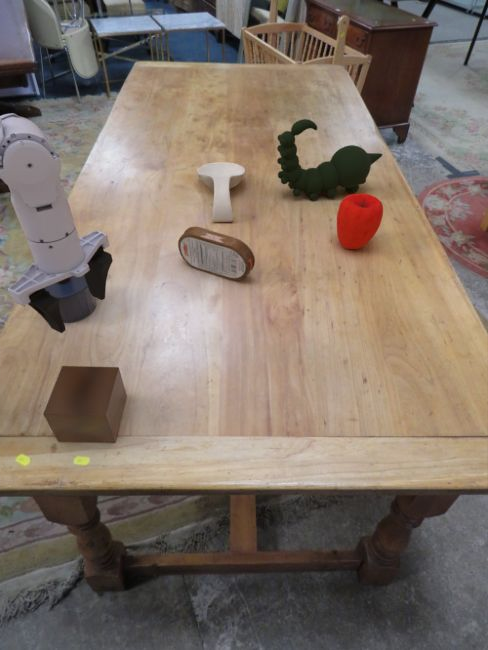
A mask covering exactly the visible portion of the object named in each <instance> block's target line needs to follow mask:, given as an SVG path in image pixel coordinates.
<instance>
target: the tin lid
mask: <svg viewBox="0 0 488 650" xmlns="http://www.w3.org/2000/svg"><path fill="white" fill-rule="evenodd" d="M87 288H88V286H87V283H86V279H85V277H84V275H83V276H81V277H75V276H71V277H69V278H66V279H64V280H61V281H59V282H57V283H54V284H52V285H49V286H47V287H45V290H46V291H49V293H50V295H52V296H54V297H56V298H58V299H60V300H61V299H67V298H71V297H74V296H76V295H78V294H80V293H82V292H83V291H85V290H86V289H87Z"/></svg>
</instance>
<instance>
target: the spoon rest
mask: <svg viewBox="0 0 488 650" xmlns="http://www.w3.org/2000/svg"><path fill="white" fill-rule="evenodd" d="M196 174H197V176H198V178H199V179H200V180H201V182H202V183H203V184H205V186H207V187H209V188H210V189H211V190H212V191H213V203H212V210H211V211H212V212H211V222H213V223H231V222H233V221H234V212H233V207H232V202H231V194H230V190H232V189H233V188H235V187H237V186H238V185H239V184H240V183H241V182H242V181H243V179H244V177H245V175H246V168H244V166H242V165H241V164H238V163H235V162H229V161H215V162H208V163H204V164H201V166H199V167H198V168H197V170H196ZM231 188H232V189H231ZM229 189H230V190H229Z"/></svg>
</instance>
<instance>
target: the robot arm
mask: <svg viewBox="0 0 488 650" xmlns="http://www.w3.org/2000/svg"><path fill="white" fill-rule="evenodd" d="M61 172H62V160H61V158H60V157H58V155H57V153H56V151H55V149H54V147H53V146H52V144H51V143H50V141H49V139H48V137H47V136H46V135H45V133H44V132H43V130H42V129H41V128H40V127H39V126H38V125H37V124H36V123H35V122H33V121H32V120H30V119H29V118H26V117H23V116H19V115H17V114H16V113H12V112H11V113H5V114H2V115H0V180H1V181H3V183H4V184H6V185H7V186H8V189H9V191H10V203H11V205H12V207H13V209H14V212H15V215H16V217H17V220H18V222H19V224H20V227H21V229H22V232H23V234H24V237H25V239H26V242H27V244H28V247H29V250H30V252H31V255H32V256H33V260H34V261H33V262H32V263H31V265H30V266H29V267H27V269H26V270H25V271H24V273H23V274H22V275H21V276H20V277H19V279H18V280H17V281H16V282H15V283H13V284H12V285H11V286H9V287H8V288H7V291H8V294H9V295H10V298H11V301H13V302H14V303H16V304H18V305H21V306H22V307H26V306H27V305H28V306H29V307H31V308H32V309H33V310H35V312H37V313H38V314H39V315H40V316H41V317H42V318H43V320H45V321H46V323H47V324H48V326H50V328H51V329H52V330H55V332H58V333H59V334H63V333H64V332H65V331H67V330H66V325H65V323H64V322H63V320H62V317H61V314H60V308H59V300H60V299H58V298H56V297H54V296H52V295H50V293H49V291H46V290H45V287H47V286H49V285H52V284H54V283H57V282H59V281H61V280H64V279H66V278H69V277H71V276H75V277H81V276H83V275H84V277H85V279H86V283H87V286H88V289H89V291H90V293H91V295H92V296H94V297H96V299H98V300H100V301H104V300H105V299H106V288H107V279H108V274H109V271H110V268H111V266H112V263H113V262H114V261H113V260H114V259H113V256H112V254H111V253H110V252H108V251H106V249H107V248H109V247H110V242H109V241H110V240H109V238H108V234H107V233H105V232H102V231H100V230H97V229H96V230H93V231H91V232H90V233H88V234H85V235H83V236H81V237H79V233H78V230H77V226H76V223H75V220H74V217H73V213H72V209H71V206H70V203H69V200H68V196H67V192H66V190H65V188H64V187H63V186H62V179H61Z"/></svg>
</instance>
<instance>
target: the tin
mask: <svg viewBox="0 0 488 650" xmlns="http://www.w3.org/2000/svg"><path fill="white" fill-rule="evenodd" d="M177 247H178V252H179V254H180V256H181V258H182V259H183V260H184V262H186V264H188V265H189V266H190V267H192V268H194V269H196V270H199V271H203V272H206V273H209V274H211V275H214V276H218V277H221V278H223V279H227V280H231V281H242V280H243V279H245V278H246V277H247V276H248V275H249V274H250V272H251V271H252V270H253V269H254V268H255V265H256V258H255V255H254V253H253V251H252V249H251V248H250V246H248V244H246V243H245V242H244V241H243V240H241V239H239V238H237V237H234V236H231V235H227V234H225V233H220V232H218V231H214V230H210V229H207V228H204V227H201V226H191V227H188V228H186V229H185V230H184V232H183V234H181V236H180V237H179V239H178V242H177Z"/></svg>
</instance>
